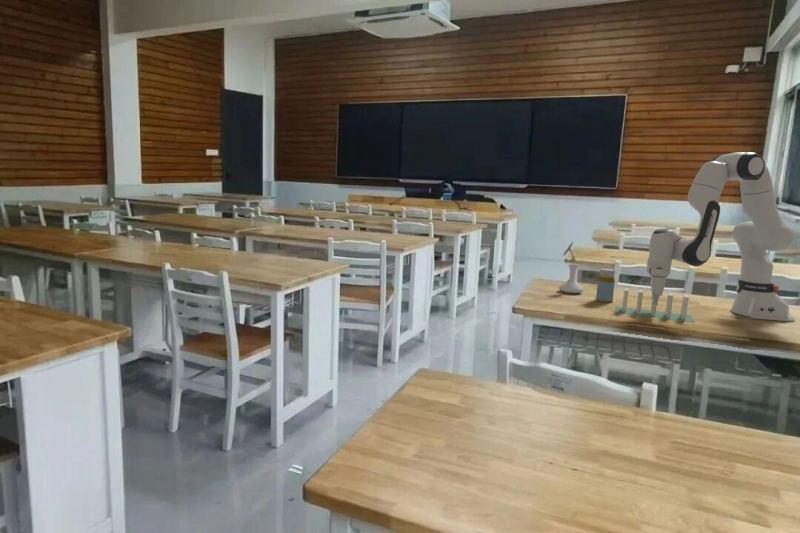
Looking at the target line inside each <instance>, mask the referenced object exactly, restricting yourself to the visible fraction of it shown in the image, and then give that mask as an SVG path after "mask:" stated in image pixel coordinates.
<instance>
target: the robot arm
mask: <svg viewBox="0 0 800 533" xmlns="http://www.w3.org/2000/svg"><path fill="white" fill-rule="evenodd" d="M728 181H732V182H733V181H734V182H735V181H738V182H739V184H740V185H739V189H740V197H741V206H742V211H743V213H744V214H745V215H746V216H747V217H748V218H749V219H750V221H743V222H739V223H736V225H735V226H734V227H733V229H732V239H733V240H734V242H735V243H736V244H737V246H738V248H739V252H740V260H741V263H740V264H741V266H740V272H739V273H740V274H739V278H738V280H737V283H736V284H737V285H736V294H735V298H734V301H733V304H732V306H731V308H730V312H732V313H733V314H737V315H741V316H743V317H747V318H751V319H755V320H756V319H757V320H770V321H780V322H781V321H782V322H794V321H795V316H794V315H793V314H790V313H789V312H790V310H789V309H790V308H789V304H788V302H786V301H785V300H784V299H783V298H782V297H781V296H780V295H778V294H777V293H776V292H777V291H779V290H780V286H778V285H775V284H774V283H772V276H773V271H774V263H773V262H772V261H771V259H770V258H769V256H768V253H767V251H769V252H780V251H782V252H783V251H786V250H788V249H790V248H791V247H792V245H793V243H794V242H795V233H794V231H793V229H791V228H790V227H789V226H787V225H786V223H785V222H784V221H783V219H782V217H781V215H780V213H779V212H778V209H777V206H776V201H775V194H774V186H773V180H772V176H771V173H770V170H769V168H768V166H767V165H766V162H765V159H764V158H763V156H762V155H761V154H759V153H757V152H753V151H752V152H750V151H748V152H742V151H741V152H738V151H737V152H731V153H721V154H718V155H716V156H714V157H712V158H711V159H710V161H707V162H705V163H704V164H702V166H701V167H700V169H699V170H698V172H697V173H696V175H695V177H694V179H693V181H692V183H691V186H690V188H689V190H688V192H687V201H688V203H689V205H690V206H691V208H693V209H694V210H695V211H696V212H698V214H699V217H700V220H699V223H698V227H697V230H696V234H695V237H694V238H693V239H692V238H687V237H683V236H681V235H679V234H677V232H675V231H674V229H671V228H659V229H656V230H653V232H652V233H651V236H650V240H649V245H648V246H649V247H648V253H649V255H648V258H647V262H646V270H645V271H646V273H647V274H649V275H648V276H649V277H650V279H651V280H650V289H651V299H652V298H653V305H657V306H658V304H659V300H660V296H662V295H663V293H664V289H665V285H666V282H667V281H666V280H667V278H669V275H671V270H672V261H677V262H680V263H684V264H687V265H689V266H692V267H700V266H703V265H704V264H706V263H707V261H708V260H710V256H711V253H712V244H713V240H714V236H715V232H716V230H717V226H718V222H719V220H720V214H721V205H720V198H721V194H722V193H723V190H724V187H725V184H726V183H727V182H728Z"/></svg>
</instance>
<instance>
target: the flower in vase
mask: <svg viewBox="0 0 800 533" xmlns="http://www.w3.org/2000/svg"><path fill="white" fill-rule="evenodd" d="M573 244H574V241H571V242H570V244H569V245H568V247H567V248H566V249H565V251H564V253H563V254H562V255H563V256H566V254H567V253H568V252H570V254H571V256H572V257H571V258H570V261H569V263H568V264H567V265H568V267H569V278H568V280H566V281H564V282H563V283H562V284H561V285H559V286H558V289H559V291H562V292H563V293H567V294H579V293H583V292H584V288H583V286H581V284H580V283H579V282H577V280H576V277H575V276H576V270H577V268H578V267H579V264H578V263H575V262H577V259H576V257H575V256H576V255H574V254H573V251H572V249H571V248H572V246H573Z"/></svg>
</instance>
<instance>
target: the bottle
mask: <svg viewBox="0 0 800 533" xmlns="http://www.w3.org/2000/svg"><path fill="white" fill-rule="evenodd" d="M615 274H616V271H615V269H613V268H607V267H606V268H605V267H602V268H600V269H599V276H598V278H597V285H596V296H595V301H596V302H599V303H605V304H610V303H611V304H612V303H614V302H613V299H614V291H615V282H616V279H615Z"/></svg>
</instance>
